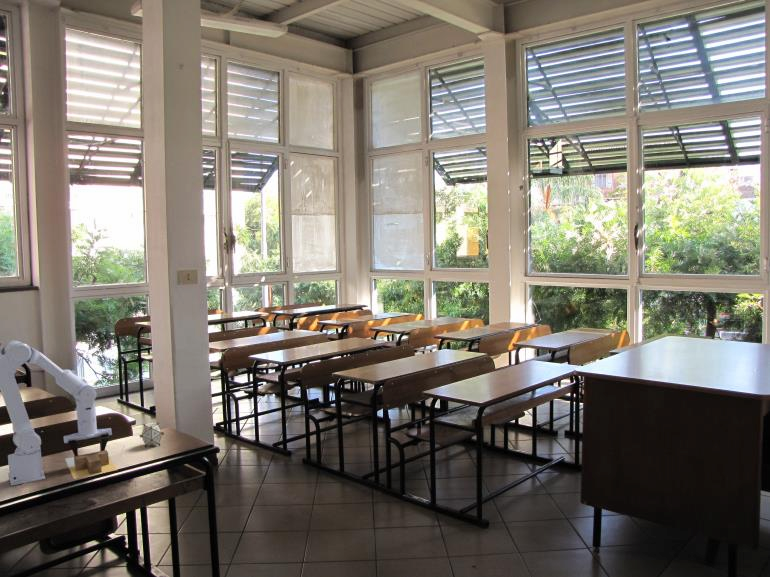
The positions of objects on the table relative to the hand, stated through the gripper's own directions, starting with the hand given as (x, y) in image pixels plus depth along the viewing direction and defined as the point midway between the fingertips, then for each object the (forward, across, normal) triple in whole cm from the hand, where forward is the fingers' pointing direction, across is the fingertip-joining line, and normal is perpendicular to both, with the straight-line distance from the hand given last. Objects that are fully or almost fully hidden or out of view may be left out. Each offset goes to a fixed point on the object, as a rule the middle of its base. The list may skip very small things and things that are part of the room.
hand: (89, 459), depth 220 cm
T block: (+1, 0, -7) cm, 7 cm away
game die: (+2, +22, +8) cm, 23 cm away
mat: (+2, 0, -1) cm, 2 cm away
